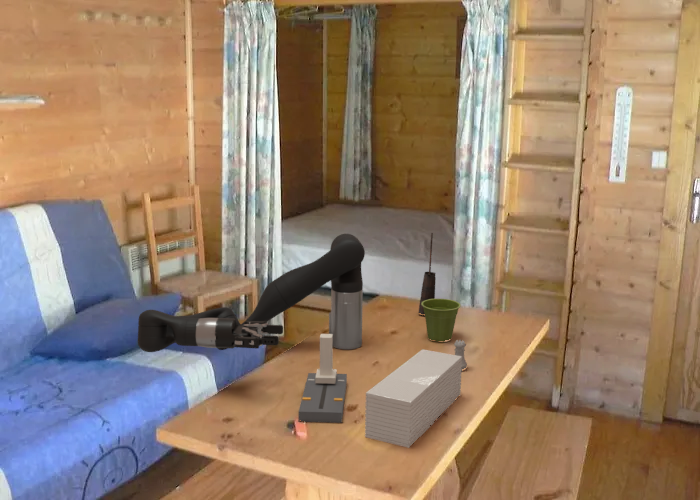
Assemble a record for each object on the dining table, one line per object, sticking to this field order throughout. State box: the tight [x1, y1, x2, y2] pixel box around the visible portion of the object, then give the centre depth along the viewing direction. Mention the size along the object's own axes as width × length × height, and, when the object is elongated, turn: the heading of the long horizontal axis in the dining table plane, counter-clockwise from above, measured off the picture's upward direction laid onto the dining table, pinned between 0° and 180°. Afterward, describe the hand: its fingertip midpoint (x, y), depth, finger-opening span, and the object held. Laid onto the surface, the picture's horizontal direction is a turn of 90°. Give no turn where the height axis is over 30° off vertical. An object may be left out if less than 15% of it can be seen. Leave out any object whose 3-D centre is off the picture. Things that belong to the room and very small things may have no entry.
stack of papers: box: [364, 348, 463, 449], centre depth 181 cm, size 32×11×11 cm, turn 152°
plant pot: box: [421, 298, 462, 342], centre depth 235 cm, size 12×12×11 cm
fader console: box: [298, 372, 348, 424], centre depth 189 cm, size 24×10×3 cm, turn 178°
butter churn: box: [418, 232, 436, 314], centre depth 256 cm, size 9×10×28 cm
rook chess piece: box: [453, 339, 468, 369], centre depth 211 cm, size 4×4×8 cm
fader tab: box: [315, 333, 338, 384], centre depth 195 cm, size 6×5×12 cm
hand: (280, 335), depth 193 cm, fingers open, 8 cm apart
